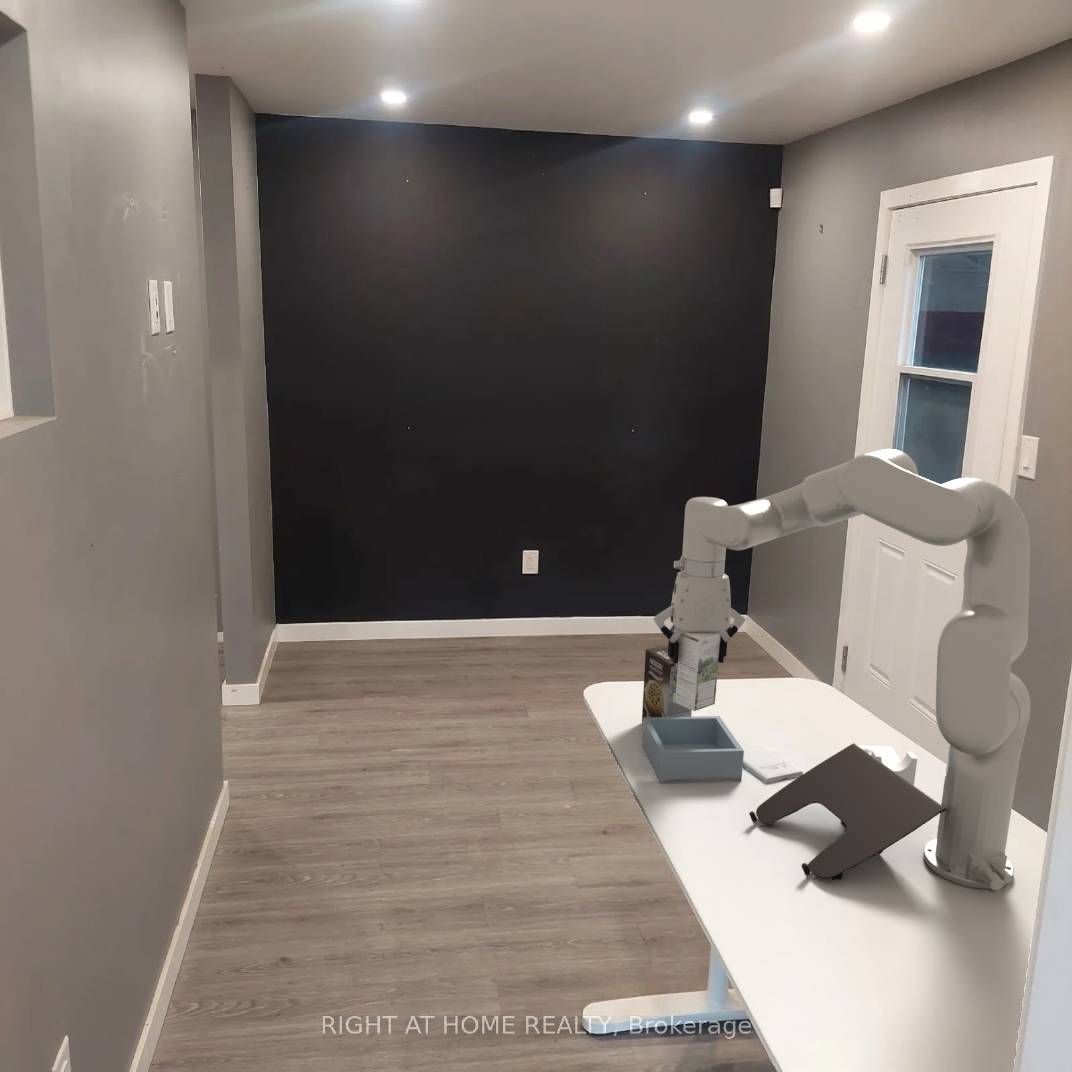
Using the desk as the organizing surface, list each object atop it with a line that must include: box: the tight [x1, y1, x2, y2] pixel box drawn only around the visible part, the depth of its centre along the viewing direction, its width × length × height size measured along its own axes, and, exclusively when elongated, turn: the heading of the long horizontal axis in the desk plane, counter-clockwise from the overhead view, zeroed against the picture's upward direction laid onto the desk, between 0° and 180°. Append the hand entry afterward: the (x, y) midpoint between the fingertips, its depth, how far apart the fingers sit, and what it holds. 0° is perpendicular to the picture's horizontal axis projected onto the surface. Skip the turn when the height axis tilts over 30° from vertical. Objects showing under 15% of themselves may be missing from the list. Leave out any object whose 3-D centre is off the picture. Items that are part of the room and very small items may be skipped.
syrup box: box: [672, 632, 721, 712], centre depth 172 cm, size 6×6×14 cm
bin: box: [641, 715, 744, 784], centre depth 176 cm, size 15×15×6 cm
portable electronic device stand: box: [748, 743, 946, 881], centre depth 151 cm, size 23×23×9 cm
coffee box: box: [641, 645, 693, 724], centre depth 189 cm, size 9×6×16 cm
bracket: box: [856, 744, 918, 786], centre depth 172 cm, size 13×7×8 cm, turn 177°
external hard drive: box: [740, 742, 804, 784], centre depth 177 cm, size 2×8×12 cm
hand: (696, 660), depth 172 cm, fingers closed on syrup box, 7 cm apart
